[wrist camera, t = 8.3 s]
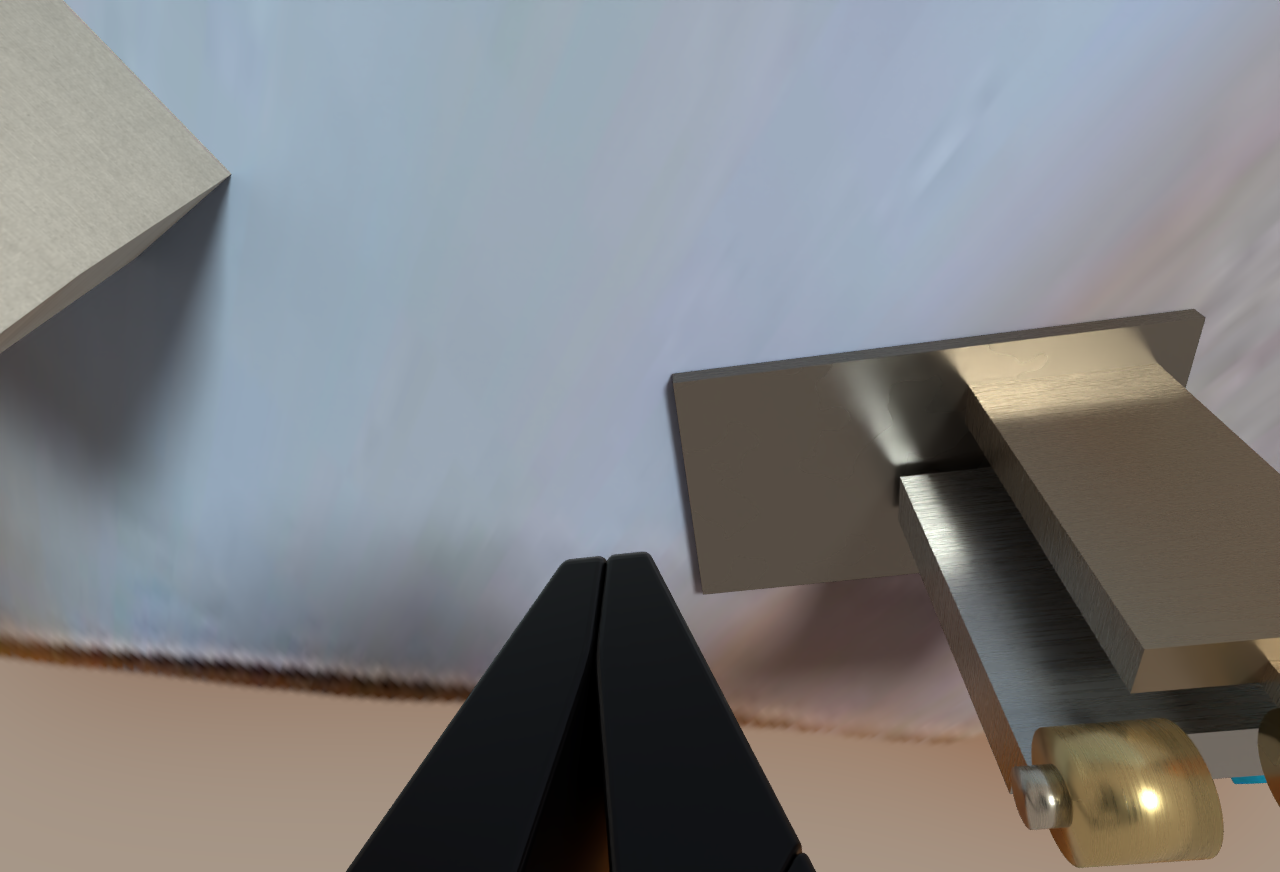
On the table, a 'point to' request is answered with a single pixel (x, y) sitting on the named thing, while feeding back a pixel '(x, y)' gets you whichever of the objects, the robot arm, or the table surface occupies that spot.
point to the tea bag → (80, 164)
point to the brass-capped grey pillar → (1070, 691)
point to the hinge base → (1009, 484)
